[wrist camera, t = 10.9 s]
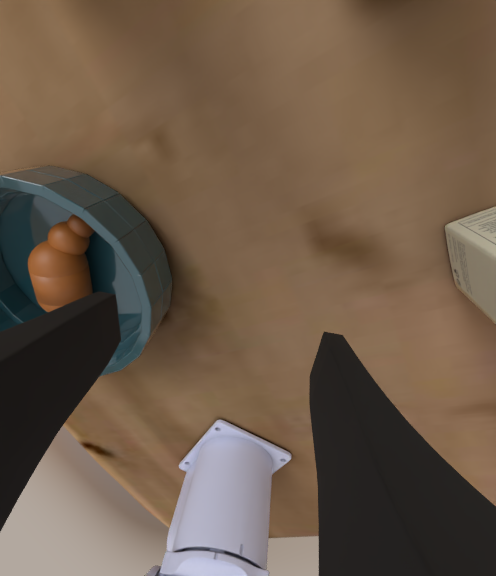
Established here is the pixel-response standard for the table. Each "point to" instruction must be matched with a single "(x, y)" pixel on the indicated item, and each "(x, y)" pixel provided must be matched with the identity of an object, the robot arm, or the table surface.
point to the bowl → (100, 254)
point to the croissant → (61, 265)
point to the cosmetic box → (475, 258)
